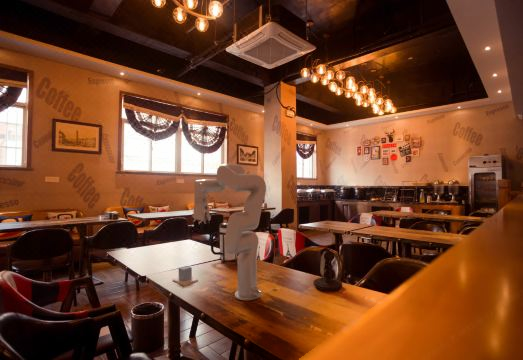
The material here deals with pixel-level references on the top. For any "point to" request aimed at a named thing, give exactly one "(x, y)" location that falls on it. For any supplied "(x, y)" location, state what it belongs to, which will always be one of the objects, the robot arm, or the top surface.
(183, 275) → the gray rectangular block
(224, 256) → the coffee press
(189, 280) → the post stand
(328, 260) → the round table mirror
